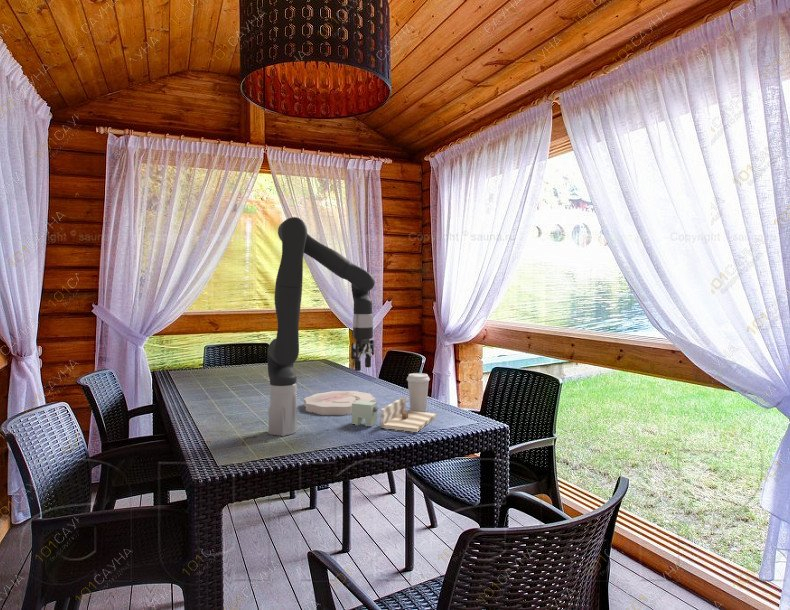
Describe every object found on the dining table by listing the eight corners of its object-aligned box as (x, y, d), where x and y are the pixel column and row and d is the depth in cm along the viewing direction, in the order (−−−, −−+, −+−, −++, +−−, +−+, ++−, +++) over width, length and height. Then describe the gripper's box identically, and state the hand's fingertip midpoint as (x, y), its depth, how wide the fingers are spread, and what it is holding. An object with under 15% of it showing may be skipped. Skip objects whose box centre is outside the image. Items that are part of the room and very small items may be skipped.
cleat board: (417, 433, 173) (417, 413, 172) (380, 428, 178) (380, 409, 178) (436, 417, 193) (436, 399, 193) (403, 413, 198) (403, 396, 198)
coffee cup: (403, 409, 206) (403, 373, 205) (423, 407, 209) (423, 372, 209) (412, 414, 197) (412, 377, 196) (433, 412, 201) (433, 376, 200)
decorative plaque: (338, 388, 232) (388, 396, 214) (338, 395, 233) (388, 405, 214) (289, 399, 208) (341, 410, 190) (289, 408, 209) (341, 420, 190)
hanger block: (373, 427, 180) (373, 405, 179) (351, 424, 183) (351, 403, 183) (379, 423, 184) (379, 402, 184) (357, 421, 188) (357, 400, 187)
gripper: (363, 327, 176) (363, 372, 177) (380, 324, 189) (380, 366, 190) (344, 327, 179) (345, 371, 179) (362, 324, 192) (362, 365, 193)
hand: (363, 368), depth 185 cm, fingers open, 8 cm apart
